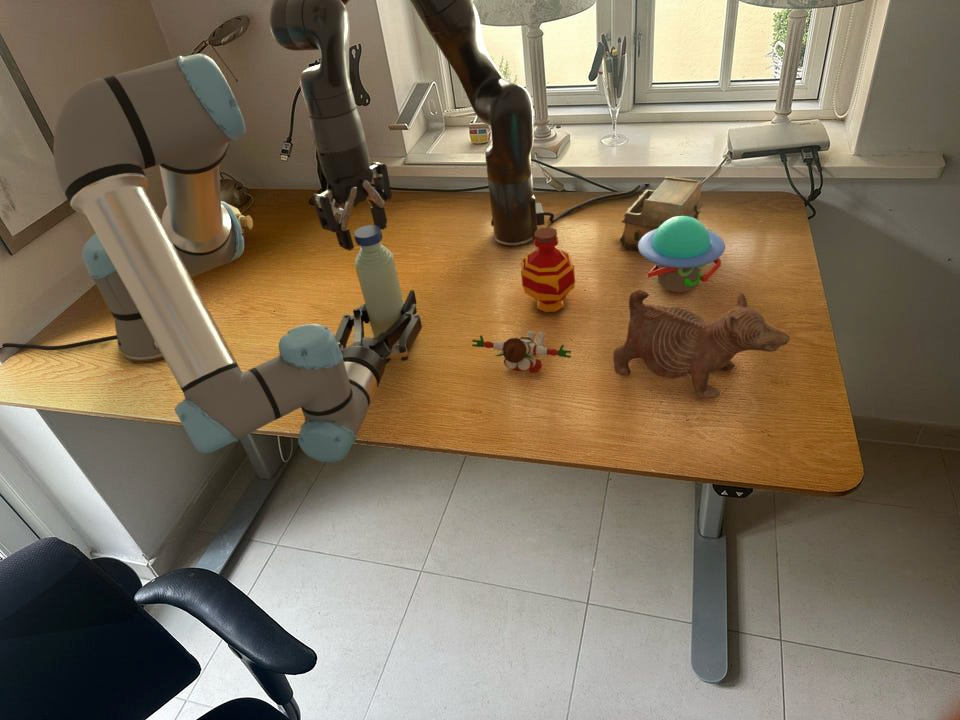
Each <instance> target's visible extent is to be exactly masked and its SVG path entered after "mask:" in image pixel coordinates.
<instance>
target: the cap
mask: <svg viewBox="0 0 960 720" xmlns="http://www.w3.org/2000/svg"><path fill="white" fill-rule="evenodd" d="M353 232H354V233H353V235H354V242H355V243H356V245H357V246H359V247H361V246H372V245H375V244H377V243H379V242H380V243H381V241H382V240H383V233H382V229H380V227H379V226H376V225H374V224H368V225H363V226H360V227H359V228H357V229H355V231H353Z"/></svg>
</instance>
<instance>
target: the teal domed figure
mask: <svg viewBox="0 0 960 720" xmlns="http://www.w3.org/2000/svg"><path fill="white" fill-rule="evenodd" d="M638 249H639V251H638V252H639V254H640V255H641V256H642V257H643V258H645V260H648V261H649V262H651V263H653V264H655V265H654V267H653V268H651V270H649V271H648V272H647V279H650V278H653V277H656V281H657V283H658V285H659V286H660V287H661V288H663V289H665V290H667V291H671V292H674V293H683V292H688V291H691V290H693V289H695V288H697V287H698V286H699V284H700V283H701V282H702V283H706V282H708V281H709V279H710V278H711V277H712V276H713V275H714V274H715V273H716V272H717V270H718V269H719V268H720V267H721V265H722V260H721V256H722V255H723V254H724V253H725V250H726V244H725V242H724V240H723V238H722V237H721V236H720V235H718V234H717V233H716V232H714V231H712V230H710V229H708V228H707V227H706V226H705V225H704V224H703V222H701V220H699V219H698V220H697V219H695V218H692V217H689V216H677V217H673V218H670V219H669V220H667V221H665V222H664V223H663V224H662V225H661V226H660V227H659V228H657V229H654V230H652V231H650V232H648V233H647V234H645V235H644V236H643V237H642V238H641V239H640V241H639V243H638ZM711 263H713V264H714V265H713V266H712V267H711V268H710V270H709V271H708V272H706V274H702V269H704V268H705V267H706V266H707V265H709V264H711ZM700 281H701V282H700Z"/></svg>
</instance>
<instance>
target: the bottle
mask: <svg viewBox="0 0 960 720" xmlns="http://www.w3.org/2000/svg"><path fill="white" fill-rule="evenodd" d="M354 268H355V271H356V274H357V278H358V281H359V285H360V289H361V294H362V297H363V301H364V304H365V305H366V309H367V313H368V317H369V320H370V322H369V323H370V328H371V331H372V335H373V338H376V337H377V336H378V335H379V334H380V333H382V332H383V333H385V332H386V331H387V330H388V329H389V328H390V327H391V326H392V325H393V324H394V323H395V322H396V321H397V320H398V319H399V318H400V317H401V316H402V314H401V310H402V307H403V305H404V303H405V301H404V299H403V294H402V293H403V292H402V289H401V285H400V280H399V275H398V271H397V267H396V261H395V258H394V255H393V253H392V252H391V250H389V249H388V248H387V247H386V246H385V245H383V244H382V243H381V241H380V242H379V243H377V244H375V245H372V246H360V248H359V250H358V252H357V255H356V257H355V259H354ZM398 342H399V340H398V341H397V342H396V343H398ZM396 343H395V344H396ZM395 344H394V345H393V347H392V350H393V349H394V348H395V347H396V345H395Z"/></svg>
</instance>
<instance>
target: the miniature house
mask: <svg viewBox="0 0 960 720" xmlns="http://www.w3.org/2000/svg"><path fill="white" fill-rule="evenodd" d="M702 183H703V181H702V180H699V179H698V180H697V179H690V178H683V177H676V176H675V177H674V176H667V175H666V176H665V177H664V178H663V181H662V182H661V183H660V185H659V186H658V187H657V188H656V189H646V190H644V191H643V193H642V194H641V195H639V196H638V197H637V199H636V200H635V202H634V203H632V205H630V207H628V208H626V211H625V213H624V215H623V217H624V219H623V220H622V221H621V224H624V229H623V232H622V235H621V237H620V238H619V242H620V243H623V249H625V250H630V251H636V252H640V251H639V249H638V243H639V241H640V239H641V238H642V237H643V236H644V235H645V234H647V233H648V232H650V231H652V230H654V229H657V228H659V227H660V226H661V225H662V224H663V223H664V222H665V221H667V220H669V219H670V218H673V217H677V216H689V217H692V218H695V219H697V220H698V221H699V215H700V213H701V208H702V207H703V205H704V204H703V203H701V193H702V192H701V191H702Z"/></svg>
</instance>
